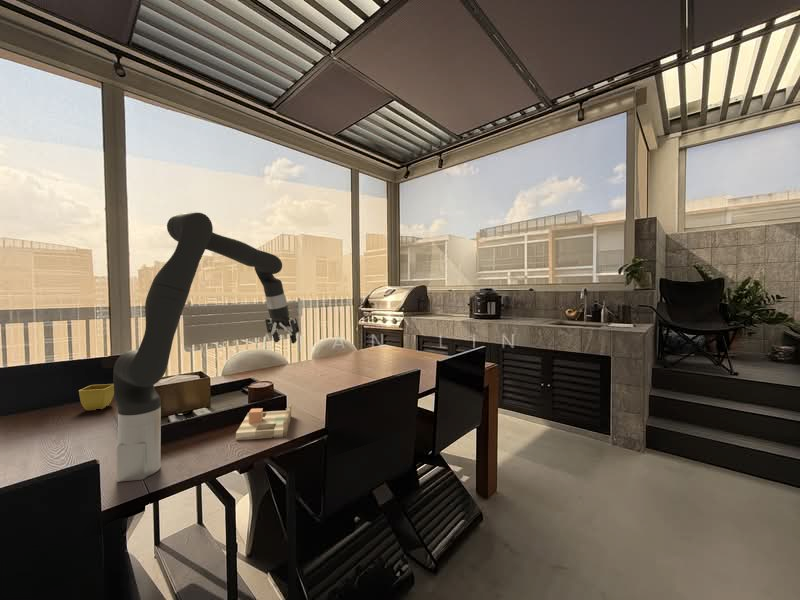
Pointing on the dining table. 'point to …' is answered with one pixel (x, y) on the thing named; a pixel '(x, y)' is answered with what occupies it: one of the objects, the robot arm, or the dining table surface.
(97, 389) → the flower pot
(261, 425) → the board
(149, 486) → the dining table surface
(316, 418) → the dining table surface
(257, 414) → the block
